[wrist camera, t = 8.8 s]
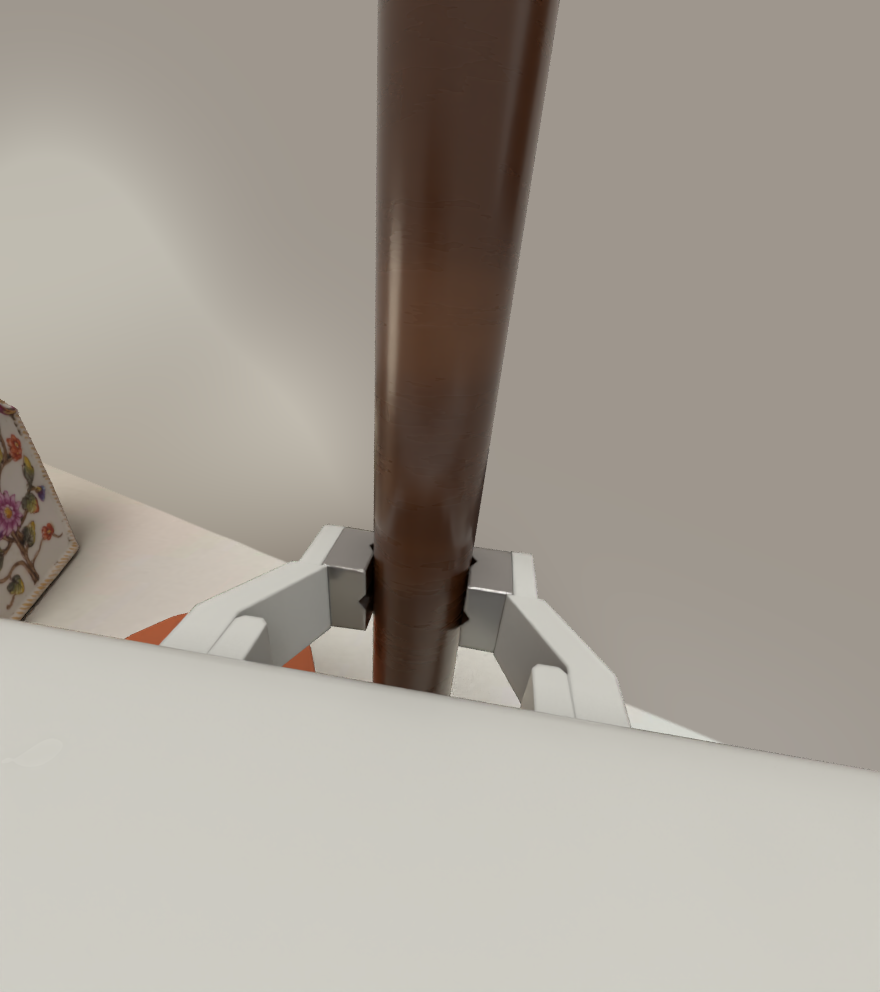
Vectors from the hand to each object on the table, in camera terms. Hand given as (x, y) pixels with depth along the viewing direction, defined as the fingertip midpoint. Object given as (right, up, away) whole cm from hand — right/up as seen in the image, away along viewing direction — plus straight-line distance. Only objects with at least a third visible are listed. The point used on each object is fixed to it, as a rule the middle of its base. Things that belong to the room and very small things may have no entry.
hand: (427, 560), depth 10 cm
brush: (-1, -11, +5) cm, 13 cm away
